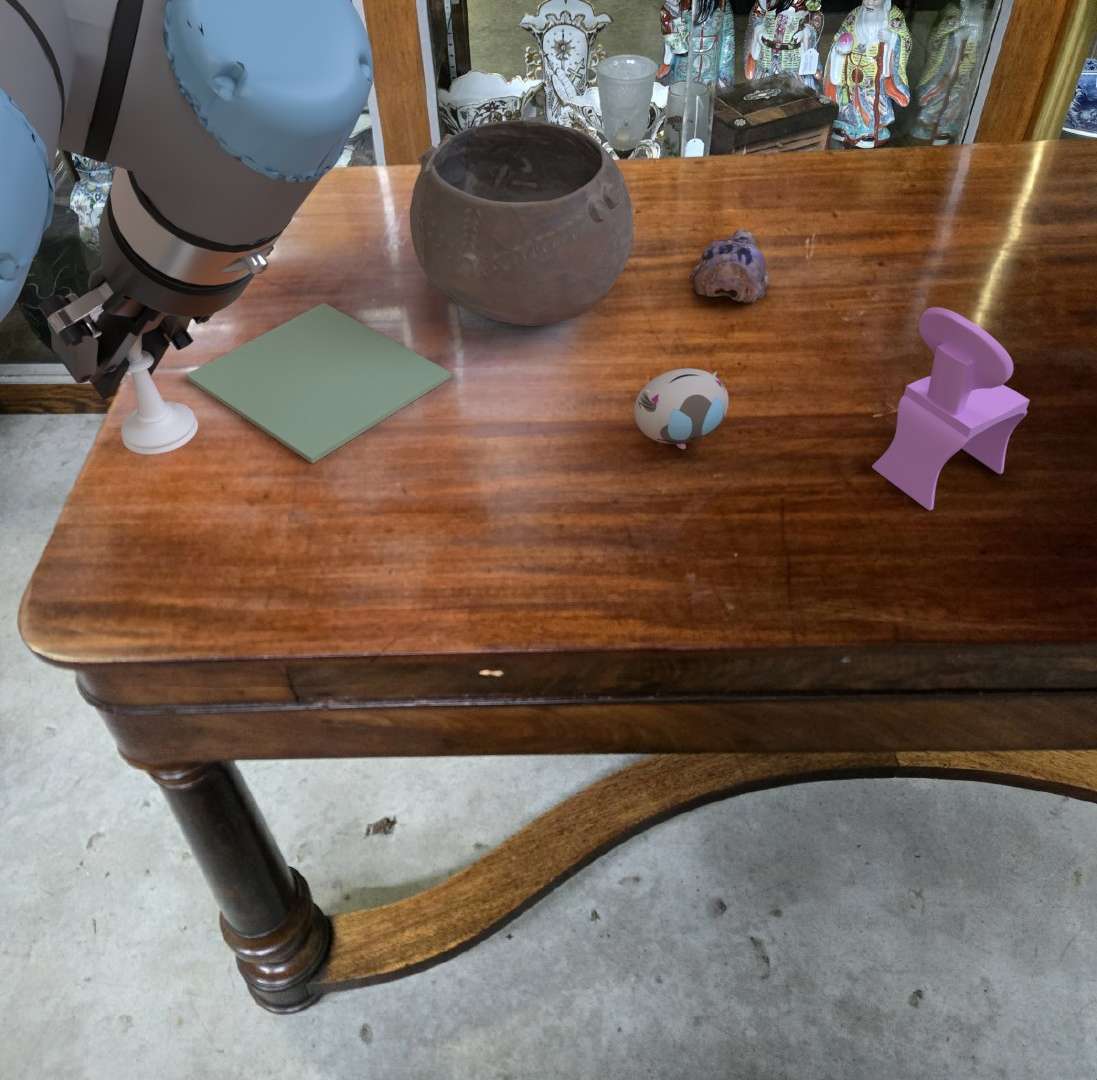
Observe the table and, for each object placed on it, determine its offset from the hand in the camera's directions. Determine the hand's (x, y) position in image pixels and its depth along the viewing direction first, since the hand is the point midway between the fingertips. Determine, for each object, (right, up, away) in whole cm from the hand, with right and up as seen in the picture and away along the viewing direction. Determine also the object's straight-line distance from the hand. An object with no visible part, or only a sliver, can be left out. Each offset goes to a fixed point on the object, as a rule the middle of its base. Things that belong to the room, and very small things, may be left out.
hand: (115, 370), depth 69 cm
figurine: (+40, -3, +18) cm, 44 cm away
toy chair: (+61, -6, +15) cm, 63 cm away
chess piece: (+3, -4, 0) cm, 5 cm away
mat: (+8, +3, +25) cm, 26 cm away
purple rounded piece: (+48, +14, +35) cm, 61 cm away
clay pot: (+27, +12, +34) cm, 45 cm away
